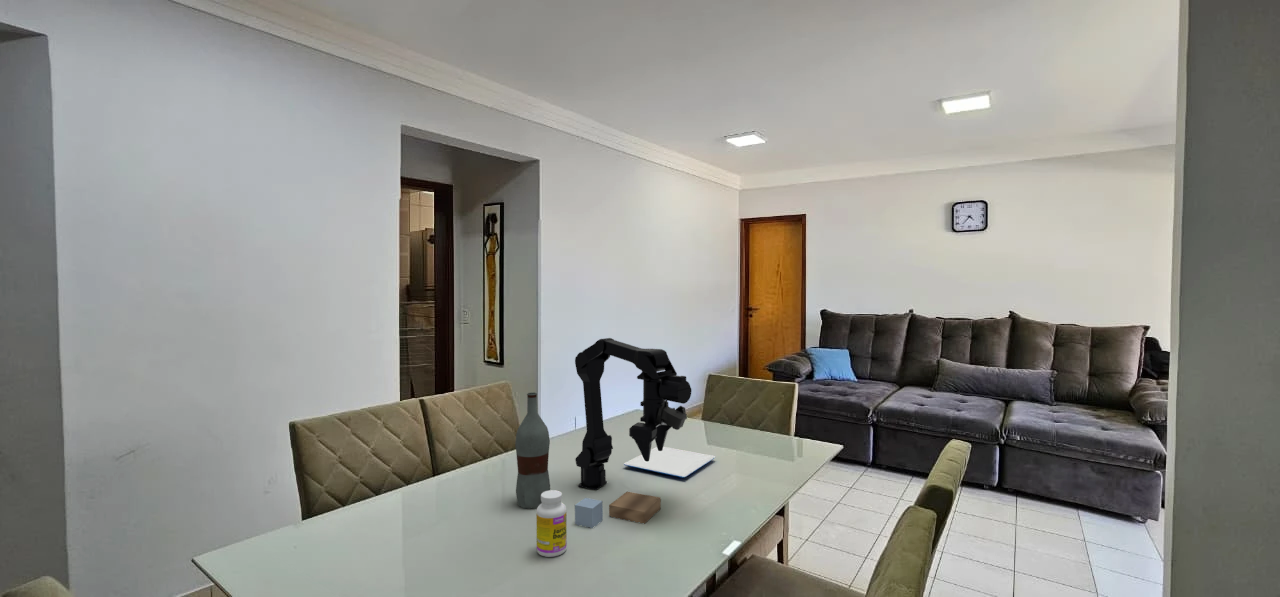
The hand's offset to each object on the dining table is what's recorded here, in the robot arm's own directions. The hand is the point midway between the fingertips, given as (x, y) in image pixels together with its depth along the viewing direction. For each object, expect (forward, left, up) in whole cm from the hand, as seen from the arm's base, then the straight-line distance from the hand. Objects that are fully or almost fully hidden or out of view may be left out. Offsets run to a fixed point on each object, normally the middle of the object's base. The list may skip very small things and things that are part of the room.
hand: (653, 455), depth 146 cm
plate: (-9, +33, -14) cm, 37 cm away
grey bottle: (-31, -11, -14) cm, 36 cm away
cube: (-11, -15, -14) cm, 23 cm away
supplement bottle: (-11, -31, -14) cm, 36 cm away
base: (-3, -5, -14) cm, 15 cm away
